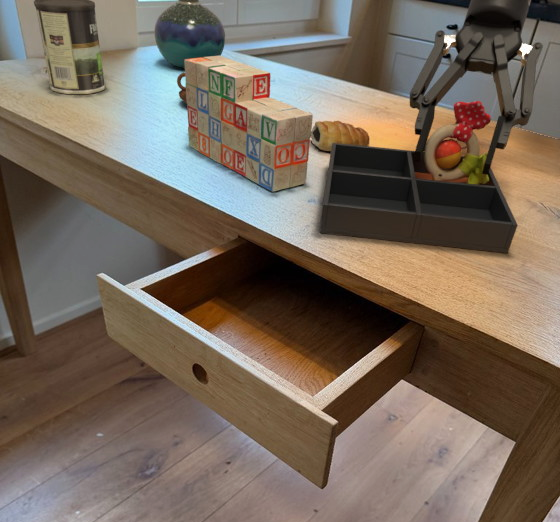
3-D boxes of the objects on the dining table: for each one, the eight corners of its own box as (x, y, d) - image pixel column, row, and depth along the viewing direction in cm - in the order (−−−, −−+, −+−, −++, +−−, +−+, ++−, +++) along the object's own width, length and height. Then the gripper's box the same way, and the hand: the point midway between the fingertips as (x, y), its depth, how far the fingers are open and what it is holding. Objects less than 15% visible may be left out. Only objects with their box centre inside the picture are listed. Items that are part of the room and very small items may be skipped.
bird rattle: (438, 207, 76) (506, 183, 75) (421, 127, 70) (495, 98, 68) (428, 189, 81) (491, 166, 79) (411, 113, 75) (479, 86, 73)
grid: (479, 182, 83) (486, 158, 81) (507, 253, 66) (517, 224, 64) (329, 167, 84) (332, 142, 82) (319, 232, 67) (322, 204, 65)
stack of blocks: (307, 184, 78) (316, 88, 71) (272, 193, 75) (277, 94, 67) (221, 139, 91) (220, 53, 83) (187, 146, 88) (183, 57, 80)
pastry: (359, 138, 95) (363, 114, 93) (375, 153, 90) (379, 128, 88) (307, 140, 93) (309, 115, 91) (319, 154, 88) (322, 129, 86)
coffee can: (105, 81, 114) (94, -2, 105) (106, 95, 106) (94, 6, 97) (51, 80, 112) (35, -5, 102) (48, 95, 104) (31, 4, 95)
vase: (198, 56, 136) (196, -10, 128) (239, 69, 128) (239, 0, 119) (143, 62, 128) (137, -8, 119) (182, 77, 120) (179, 3, 111)
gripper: (576, 33, 75) (529, 191, 74) (420, 15, 81) (375, 162, 79) (593, -12, 68) (542, 163, 67) (421, -28, 73) (371, 133, 72)
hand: (451, 162), depth 73 cm, fingers closed on bird rattle, 8 cm apart
